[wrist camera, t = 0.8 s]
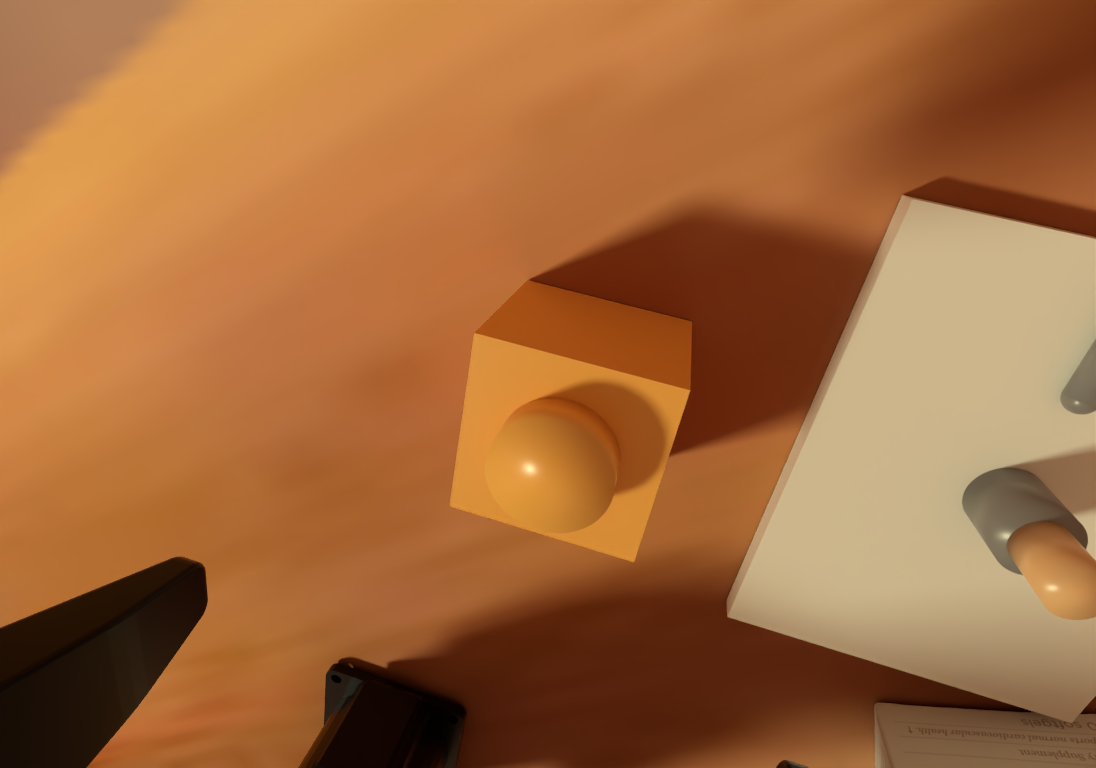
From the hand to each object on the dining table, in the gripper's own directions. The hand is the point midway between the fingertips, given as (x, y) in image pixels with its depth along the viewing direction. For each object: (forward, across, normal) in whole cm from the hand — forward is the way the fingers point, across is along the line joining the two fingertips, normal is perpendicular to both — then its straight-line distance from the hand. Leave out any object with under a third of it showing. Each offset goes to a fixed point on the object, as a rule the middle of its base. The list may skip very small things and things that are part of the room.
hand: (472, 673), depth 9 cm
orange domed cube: (+11, 0, 0) cm, 11 cm away
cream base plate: (+11, -12, 0) cm, 16 cm away
